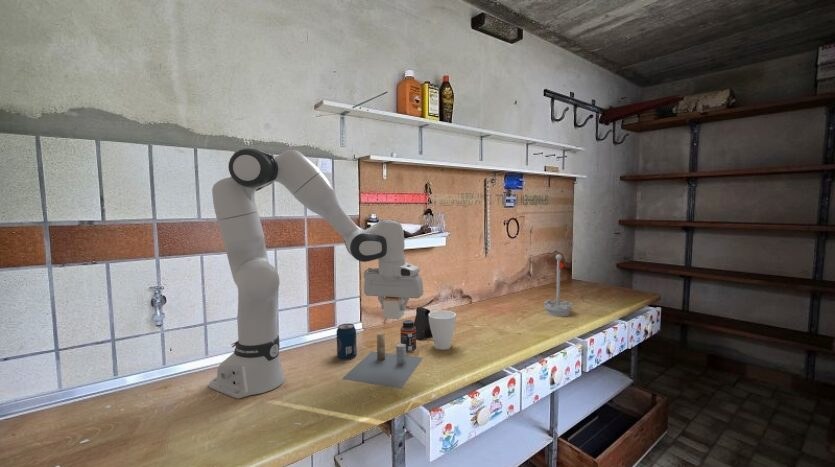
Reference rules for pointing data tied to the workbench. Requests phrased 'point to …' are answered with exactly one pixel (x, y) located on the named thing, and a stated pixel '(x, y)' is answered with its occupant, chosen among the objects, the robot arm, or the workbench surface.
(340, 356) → the soda can
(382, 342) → the birch dowel
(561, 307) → the flag stand
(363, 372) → the board
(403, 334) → the supplement bottle
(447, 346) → the cup
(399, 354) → the steel post
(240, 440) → the workbench surface
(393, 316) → the white block tan top
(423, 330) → the door stopper
